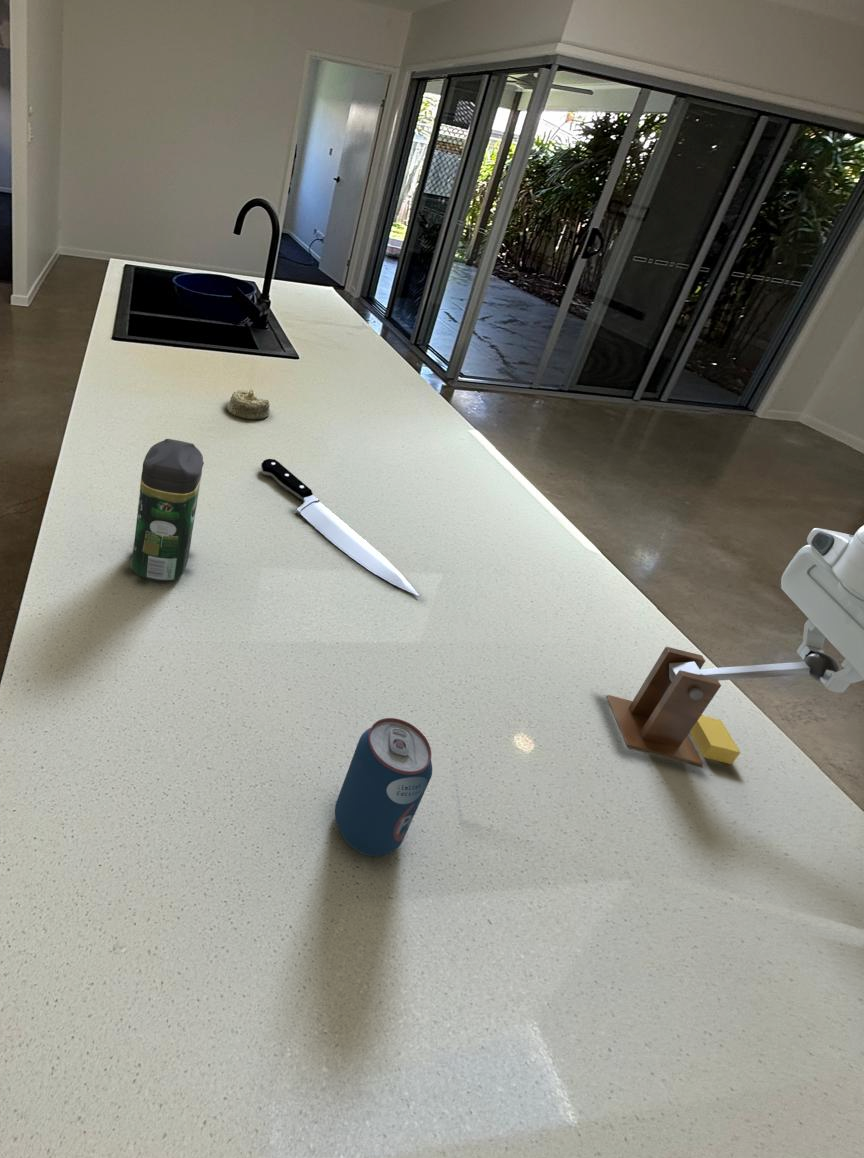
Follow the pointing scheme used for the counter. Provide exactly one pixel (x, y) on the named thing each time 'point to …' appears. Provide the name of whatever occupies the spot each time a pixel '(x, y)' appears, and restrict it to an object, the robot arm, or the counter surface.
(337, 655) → the counter surface
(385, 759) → the soda can
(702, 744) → the butter
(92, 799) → the counter surface
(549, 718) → the counter surface
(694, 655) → the stand
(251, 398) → the cake
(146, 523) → the coffee jar
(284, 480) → the chef knife
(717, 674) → the grey metal rod
